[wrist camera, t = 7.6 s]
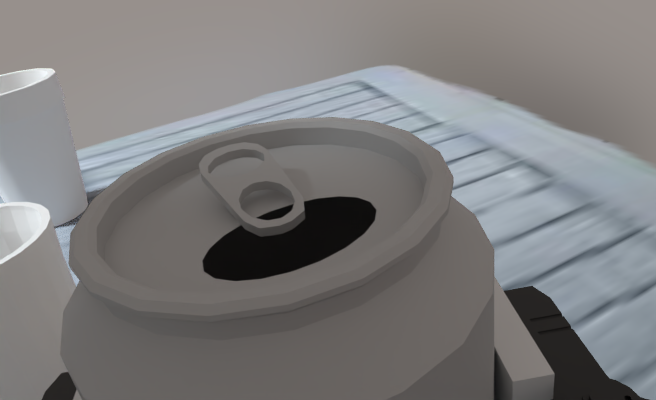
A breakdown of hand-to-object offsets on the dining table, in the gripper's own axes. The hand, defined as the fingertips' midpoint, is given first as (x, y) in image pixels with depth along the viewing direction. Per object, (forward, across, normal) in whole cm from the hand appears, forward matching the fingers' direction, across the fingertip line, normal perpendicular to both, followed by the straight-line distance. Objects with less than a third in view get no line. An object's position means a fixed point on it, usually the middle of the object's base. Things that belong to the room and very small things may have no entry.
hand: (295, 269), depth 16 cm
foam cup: (+38, -24, -15) cm, 47 cm away
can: (-5, 0, -7) cm, 8 cm away
